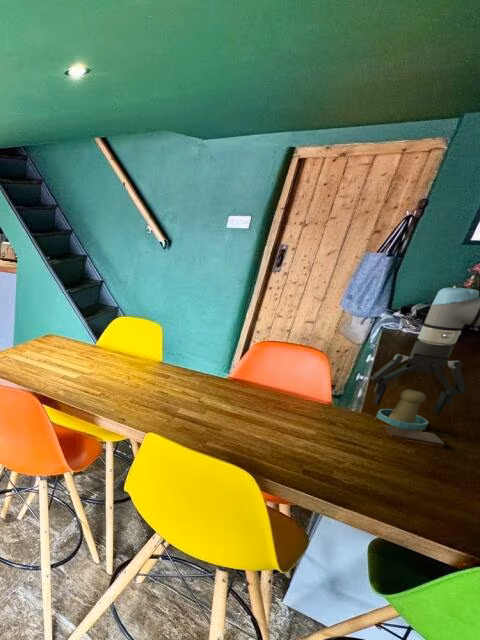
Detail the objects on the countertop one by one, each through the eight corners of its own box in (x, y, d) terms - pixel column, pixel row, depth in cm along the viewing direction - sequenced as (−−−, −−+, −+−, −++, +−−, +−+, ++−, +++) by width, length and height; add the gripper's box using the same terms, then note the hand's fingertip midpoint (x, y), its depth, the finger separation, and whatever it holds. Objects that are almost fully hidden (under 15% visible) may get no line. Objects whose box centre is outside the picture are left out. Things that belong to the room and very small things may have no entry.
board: (432, 437, 120) (434, 433, 119) (442, 448, 114) (445, 443, 113) (382, 429, 125) (384, 425, 124) (390, 439, 119) (392, 434, 118)
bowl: (416, 421, 129) (419, 413, 128) (430, 436, 120) (435, 427, 119) (370, 414, 134) (373, 406, 133) (381, 428, 125) (385, 419, 124)
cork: (385, 422, 127) (400, 390, 123) (387, 417, 131) (402, 386, 127) (412, 429, 123) (429, 397, 119) (413, 423, 127) (430, 392, 123)
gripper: (382, 339, 120) (356, 403, 128) (506, 351, 108) (469, 421, 116) (374, 333, 126) (350, 395, 134) (491, 345, 114) (456, 411, 122)
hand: (405, 407), depth 125 cm, fingers open, 13 cm apart
